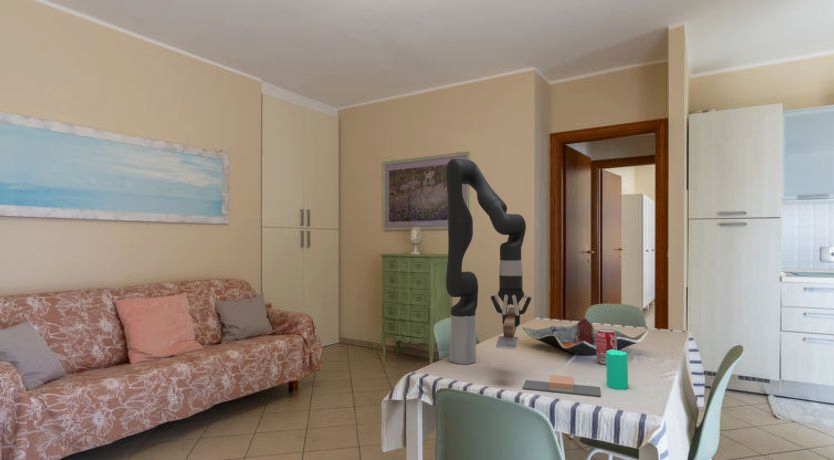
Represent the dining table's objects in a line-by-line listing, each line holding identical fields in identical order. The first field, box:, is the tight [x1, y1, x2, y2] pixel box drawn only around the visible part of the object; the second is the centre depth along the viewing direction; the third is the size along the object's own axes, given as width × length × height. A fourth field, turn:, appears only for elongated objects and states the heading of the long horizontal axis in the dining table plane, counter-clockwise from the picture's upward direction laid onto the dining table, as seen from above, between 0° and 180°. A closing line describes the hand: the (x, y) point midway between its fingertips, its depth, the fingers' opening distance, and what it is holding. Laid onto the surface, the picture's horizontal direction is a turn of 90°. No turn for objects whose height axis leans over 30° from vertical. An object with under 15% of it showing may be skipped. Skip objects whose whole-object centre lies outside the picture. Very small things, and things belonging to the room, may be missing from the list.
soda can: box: [595, 328, 618, 366], centre depth 170 cm, size 7×7×12 cm
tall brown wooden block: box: [495, 307, 519, 350], centre depth 152 cm, size 19×6×4 cm, turn 160°
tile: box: [548, 374, 575, 391], centre depth 142 cm, size 7×2×8 cm
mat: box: [522, 379, 602, 398], centre depth 141 cm, size 22×8×1 cm, turn 70°
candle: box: [605, 346, 629, 391], centre depth 143 cm, size 6×6×12 cm
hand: (511, 326), depth 155 cm, fingers closed on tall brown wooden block, 3 cm apart
